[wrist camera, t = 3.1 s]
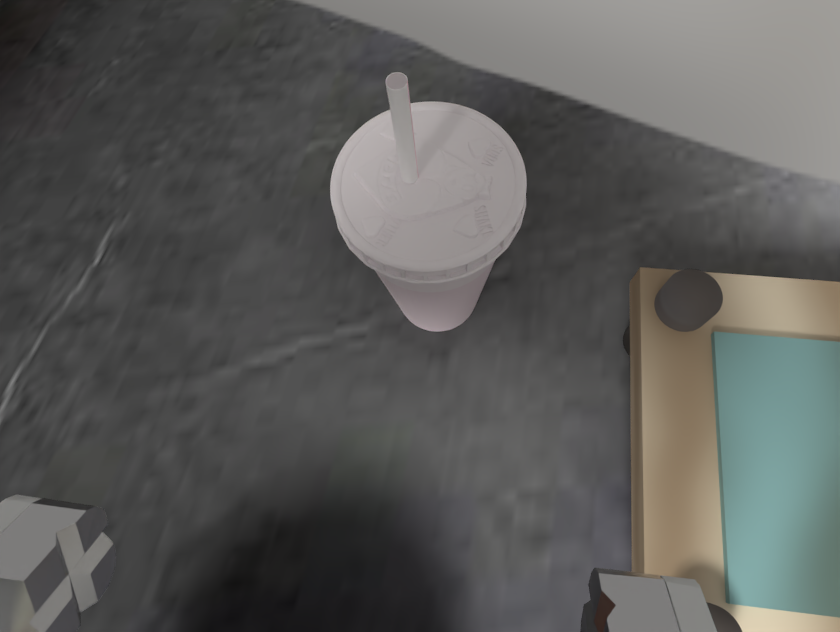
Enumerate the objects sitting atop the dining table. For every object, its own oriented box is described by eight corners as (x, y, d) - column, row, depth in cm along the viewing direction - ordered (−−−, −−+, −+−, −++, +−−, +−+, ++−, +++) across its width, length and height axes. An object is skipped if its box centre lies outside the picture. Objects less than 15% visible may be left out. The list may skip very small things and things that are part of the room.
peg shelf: (610, 653, 22) (658, 691, 17) (611, 308, 27) (649, 253, 22) (1013, 707, 21) (1202, 767, 16) (941, 334, 26) (1068, 283, 20)
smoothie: (383, 226, 29) (321, -21, 16) (513, 241, 28) (559, -6, 15) (358, 350, 27) (264, 180, 14) (498, 369, 26) (537, 209, 13)
